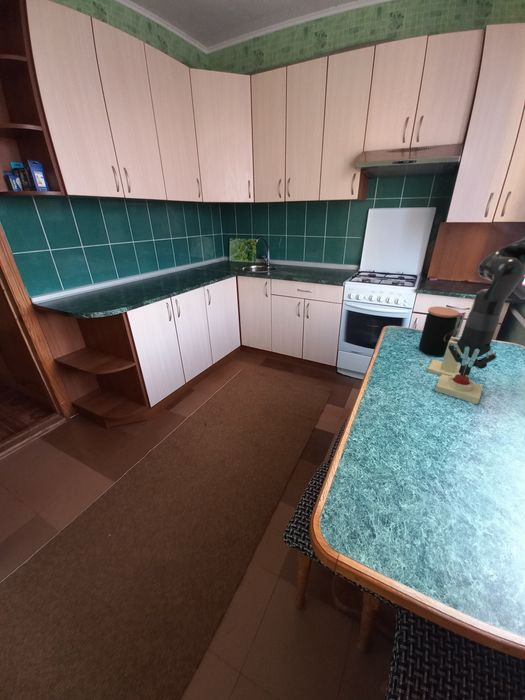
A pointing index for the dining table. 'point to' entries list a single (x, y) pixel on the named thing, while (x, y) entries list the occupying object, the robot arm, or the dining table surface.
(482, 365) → the black lever
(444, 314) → the coffee jar
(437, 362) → the lever base
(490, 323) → the robot arm
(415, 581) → the dining table surface
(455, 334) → the candy bar box
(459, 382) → the button
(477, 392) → the button block
